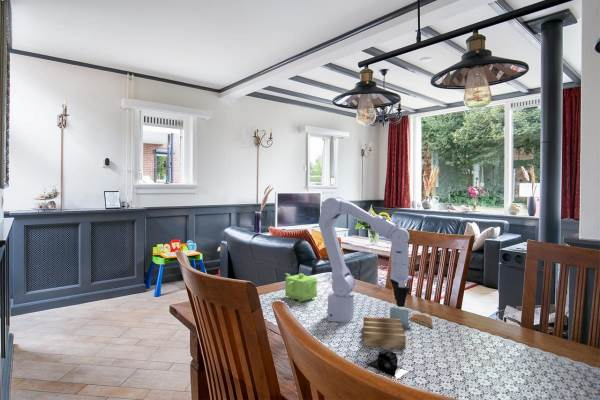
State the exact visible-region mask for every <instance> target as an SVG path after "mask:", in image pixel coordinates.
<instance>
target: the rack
mask: <svg viewBox="0 0 600 400" xmlns="http://www.w3.org/2000/svg"><path fill="white" fill-rule="evenodd" d="M362 319H363V325H362V326H363V327H362V328H363V346H365V347H378V348H392V349H406V344H407V342H406V338H407V335H406V334H405V331H404V330H405V329H402V324H400V319H396V318H390V317H379V316H378V317H375V316H363V318H362Z"/></svg>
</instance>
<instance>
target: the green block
mask: <svg viewBox="0 0 600 400" xmlns="http://www.w3.org/2000/svg"><path fill="white" fill-rule="evenodd" d="M284 274H285V275H286V277H285V290H284V291H285V292H284V293H285V294H284V295H285V297H288V298H290V300H298V302H299V303H304V301H306V300H307V301H308V300H312V299H314V298H317V296H318V295H317V294H318V290H317V289H318V282H319V280H318V278H317V277H314V276H309V275H305V274H304V273H298V274H295V275H291V274H290V273H286V272H285V273H284Z"/></svg>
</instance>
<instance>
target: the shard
mask: <svg viewBox="0 0 600 400" xmlns="http://www.w3.org/2000/svg"><path fill="white" fill-rule="evenodd" d="M432 319H433V318H432V317H431V316H429V315H426V314H420V313H419V314H418V313H412V314H411V316H410V317H408V321H409V320H410V321H412V322H414V323H418V324H420V325H422V326H425V327H428V328H430V329H434V328H433V327H434V326H433V320H432Z"/></svg>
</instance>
